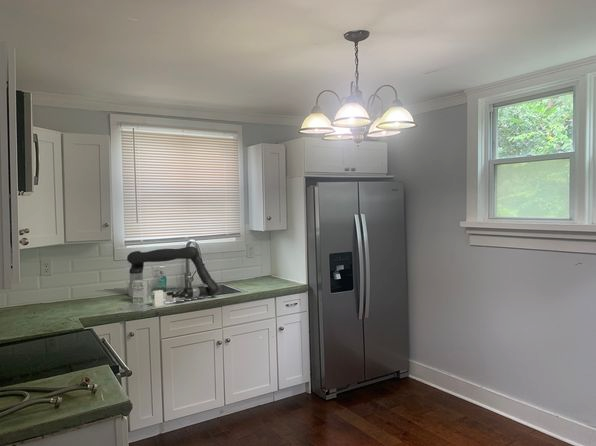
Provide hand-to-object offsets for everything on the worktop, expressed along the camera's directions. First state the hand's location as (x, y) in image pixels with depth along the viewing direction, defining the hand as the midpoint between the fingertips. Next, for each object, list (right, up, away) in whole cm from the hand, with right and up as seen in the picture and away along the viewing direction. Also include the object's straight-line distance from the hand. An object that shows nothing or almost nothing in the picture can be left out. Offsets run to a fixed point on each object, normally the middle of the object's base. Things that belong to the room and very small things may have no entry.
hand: (169, 295), depth 307 cm
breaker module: (-6, -6, -5) cm, 10 cm away
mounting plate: (-18, -6, -12) cm, 23 cm away
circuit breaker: (-21, -6, +9) cm, 24 cm away
